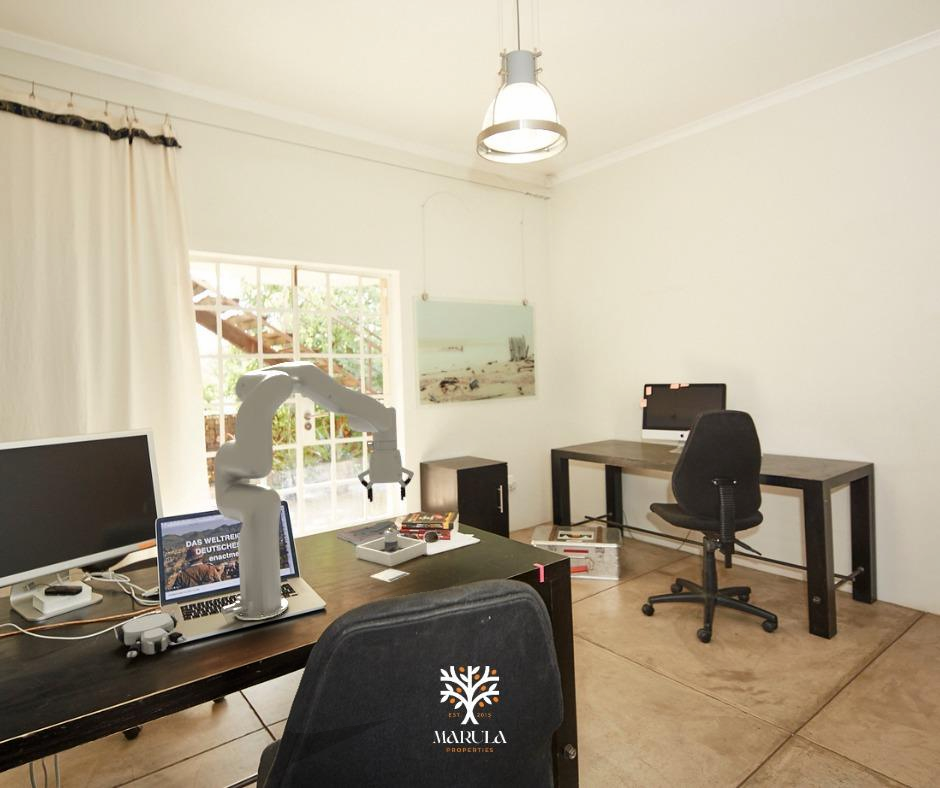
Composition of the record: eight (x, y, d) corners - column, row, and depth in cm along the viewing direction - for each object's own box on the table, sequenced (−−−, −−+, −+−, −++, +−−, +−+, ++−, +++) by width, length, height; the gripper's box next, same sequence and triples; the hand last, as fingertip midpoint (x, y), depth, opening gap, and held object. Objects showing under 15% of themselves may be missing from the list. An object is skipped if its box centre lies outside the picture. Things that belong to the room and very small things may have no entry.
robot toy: (190, 651, 125) (173, 625, 137) (189, 631, 125) (172, 606, 137) (125, 671, 118) (113, 641, 129) (124, 650, 117) (112, 622, 129)
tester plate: (389, 585, 158) (389, 581, 158) (370, 579, 163) (369, 576, 163) (410, 576, 164) (410, 573, 164) (390, 571, 169) (390, 567, 169)
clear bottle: (391, 559, 179) (390, 530, 179) (382, 556, 182) (381, 529, 181) (400, 555, 182) (399, 527, 182) (391, 553, 185) (390, 526, 185)
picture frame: (388, 526, 222) (337, 538, 209) (388, 520, 222) (337, 531, 209) (412, 535, 210) (359, 548, 196) (412, 528, 210) (359, 540, 196)
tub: (390, 569, 171) (390, 554, 171) (356, 560, 181) (355, 546, 181) (426, 555, 183) (426, 541, 183) (392, 547, 193) (392, 534, 193)
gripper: (355, 448, 176) (357, 504, 176) (412, 446, 178) (414, 501, 178) (358, 445, 183) (359, 499, 184) (412, 443, 185) (414, 496, 186)
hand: (386, 500), depth 181 cm, fingers open, 9 cm apart
